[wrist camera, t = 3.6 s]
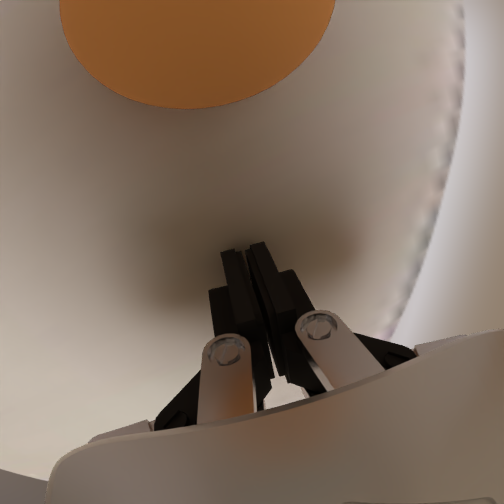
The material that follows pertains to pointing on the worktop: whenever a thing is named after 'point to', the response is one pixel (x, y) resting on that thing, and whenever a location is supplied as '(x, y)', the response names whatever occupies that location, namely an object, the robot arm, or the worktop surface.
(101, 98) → the worktop surface
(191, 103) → the ball
